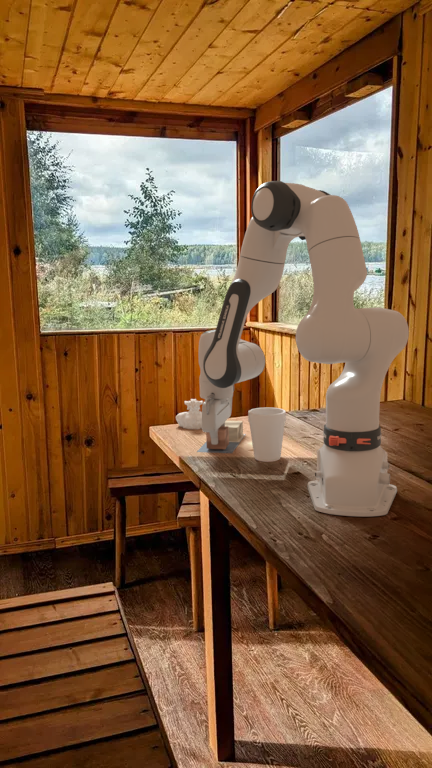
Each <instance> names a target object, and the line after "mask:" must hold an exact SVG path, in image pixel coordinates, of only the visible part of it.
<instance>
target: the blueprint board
mask: <svg viewBox="0 0 432 768" xmlns="http://www.w3.org/2000/svg"><path fill="white" fill-rule="evenodd" d="M246 435H247V434H246V433H243V435H242V436H241V438H240V439H239V440H238V442H236V441H229V445H228V446H227V448H226V449H207V440H206V441H205V442H204V443H203V444H202V446H201V447H200V448H198V450H197V451H196V452H197V453H208V454H209V453H210V454H211V453H213V454H214V453H215V454H233V453H234V451H235V450H236V448H237V447H238V446H239V445H240V443H241V442H242V441H243V439H244V438H245V437H246Z"/></svg>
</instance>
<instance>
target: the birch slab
mask: <svg viewBox="0 0 432 768" xmlns="http://www.w3.org/2000/svg"><path fill="white" fill-rule="evenodd" d="M243 423H244V421H243V420H226V421H225V426H228V427H229V441H236V442H238V440H239V439H240V438H241V436H242V435H243V434H244V427H243V426H244V424H243Z"/></svg>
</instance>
